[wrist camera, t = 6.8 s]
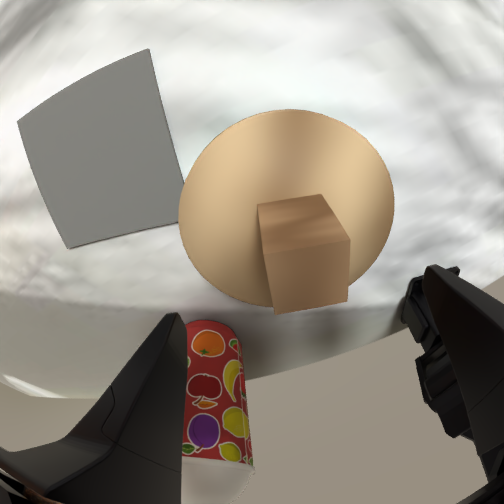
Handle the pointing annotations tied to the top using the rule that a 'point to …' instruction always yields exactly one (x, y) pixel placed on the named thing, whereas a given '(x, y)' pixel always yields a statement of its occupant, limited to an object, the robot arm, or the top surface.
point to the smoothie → (215, 417)
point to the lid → (286, 210)
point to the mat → (105, 154)
